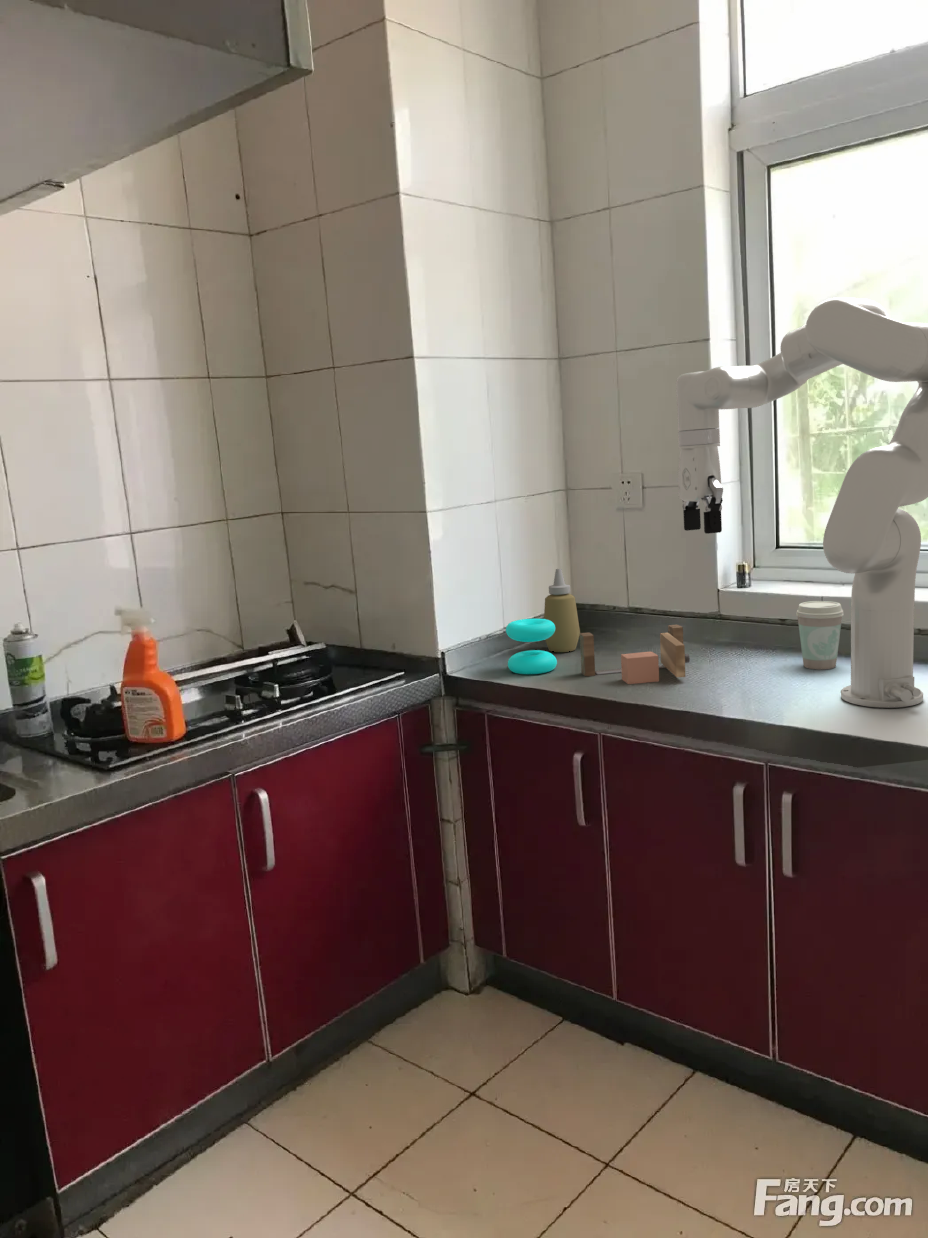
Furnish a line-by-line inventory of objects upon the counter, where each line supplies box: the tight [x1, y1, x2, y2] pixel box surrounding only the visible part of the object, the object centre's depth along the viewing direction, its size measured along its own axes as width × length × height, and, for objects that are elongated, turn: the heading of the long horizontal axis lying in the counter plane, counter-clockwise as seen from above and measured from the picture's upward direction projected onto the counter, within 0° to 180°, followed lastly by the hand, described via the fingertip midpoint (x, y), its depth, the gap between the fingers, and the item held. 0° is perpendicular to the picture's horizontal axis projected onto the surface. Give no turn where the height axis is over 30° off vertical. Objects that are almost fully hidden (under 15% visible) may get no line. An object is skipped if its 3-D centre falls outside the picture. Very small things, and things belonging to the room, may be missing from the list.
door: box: [659, 632, 691, 678], centre depth 190 cm, size 3×12×6 cm, turn 2°
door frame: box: [579, 624, 684, 677], centre depth 196 cm, size 3×20×8 cm, turn 98°
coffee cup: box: [795, 600, 845, 671], centre depth 189 cm, size 9×8×12 cm
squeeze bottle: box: [543, 568, 581, 653], centre depth 217 cm, size 8×8×18 cm
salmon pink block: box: [620, 651, 660, 685], centre depth 188 cm, size 4×6×5 cm, turn 98°
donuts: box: [505, 618, 558, 675], centre depth 201 cm, size 10×10×10 cm
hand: (702, 531), depth 189 cm, fingers open, 9 cm apart
